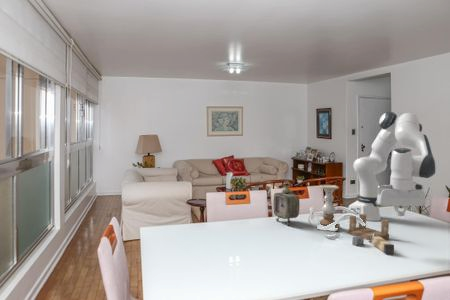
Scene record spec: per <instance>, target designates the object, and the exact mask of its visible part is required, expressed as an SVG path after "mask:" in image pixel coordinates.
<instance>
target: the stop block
mask: <svg viewBox="0 0 450 300" xmlns="http://www.w3.org/2000/svg"><path fill="white" fill-rule="evenodd" d="M351 245H352V246H356V247H358V246H363V245H365V241H364V237H362V236H352V244H351Z"/></svg>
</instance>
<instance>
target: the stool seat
mask: <svg viewBox="0 0 450 300" xmlns="http://www.w3.org/2000/svg"><path fill="white" fill-rule="evenodd" d="M359 218H361V219H362V220H363V222H364V223H365V224H366V225H365V226H362V225H361V224H360V223H359V222H358V224H359V225H358V226H357V220H358V219H357V217H356V216H350V217H349V228H348V232H347V233H348V235H352V236H354V237H356V236H362V237H364V239H365V240H367V241H370V236H373V233H375V234H376V236H380V237H381V238H383V239H384V240H386V241H387V240H389V239H390V233H389V230H390V228H389V227H390V221H389V220H388V219H381V224H380V225H381V226H380V227H381V230H380V231H379V230H376V229H373V228H369V227H367V220H366V215H365V214H360V215H359Z"/></svg>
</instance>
